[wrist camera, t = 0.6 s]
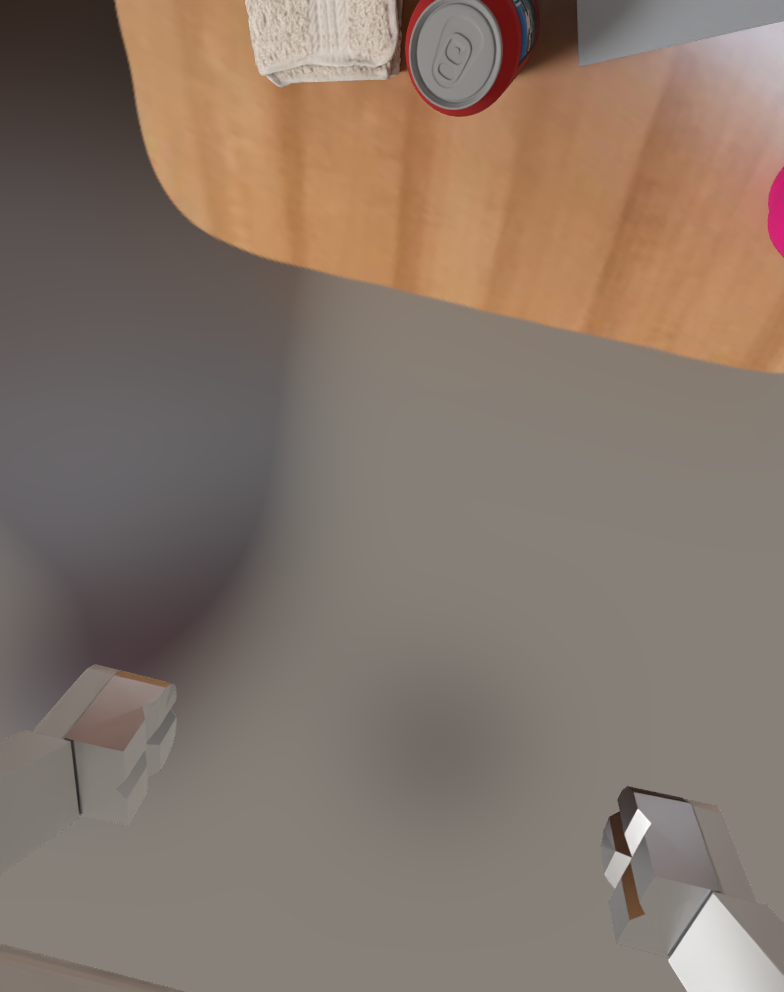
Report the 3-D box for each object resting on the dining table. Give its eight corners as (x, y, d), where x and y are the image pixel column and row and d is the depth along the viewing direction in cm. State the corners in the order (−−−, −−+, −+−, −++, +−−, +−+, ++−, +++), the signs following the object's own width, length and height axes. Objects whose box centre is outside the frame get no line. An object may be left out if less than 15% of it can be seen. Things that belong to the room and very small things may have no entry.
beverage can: (562, 2, 41) (539, 26, 33) (504, 104, 46) (472, 147, 37) (477, -62, 40) (433, -54, 32) (427, 49, 45) (377, 80, 36)
